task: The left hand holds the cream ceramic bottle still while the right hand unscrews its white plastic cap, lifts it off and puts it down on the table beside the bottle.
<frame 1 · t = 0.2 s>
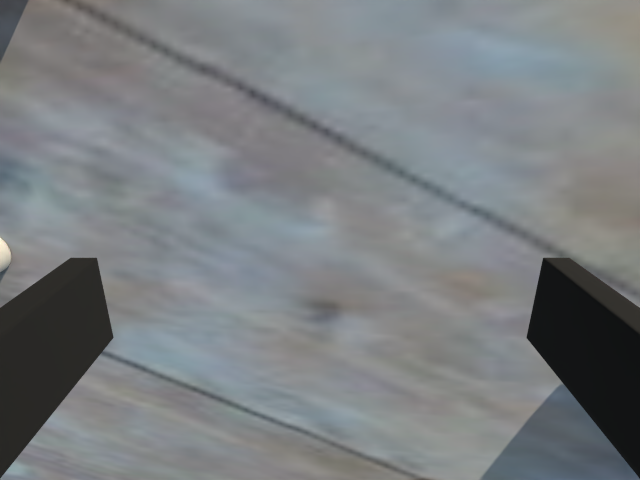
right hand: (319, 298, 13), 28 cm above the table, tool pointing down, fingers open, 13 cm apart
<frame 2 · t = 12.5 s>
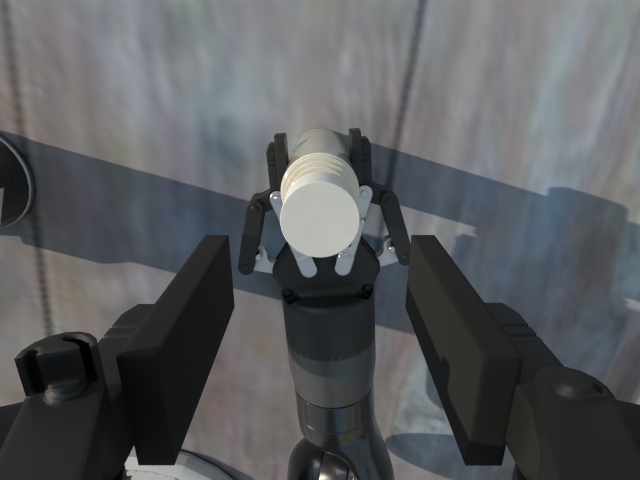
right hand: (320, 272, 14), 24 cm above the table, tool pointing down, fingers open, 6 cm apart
left hand: (317, 133, 30), fingers closed on bottle, 4 cm apart
cap: (319, 219, 20), point 18 cm above the table, screwed on, not yet turned
bottle: (319, 155, 37), on the table, touching left hand
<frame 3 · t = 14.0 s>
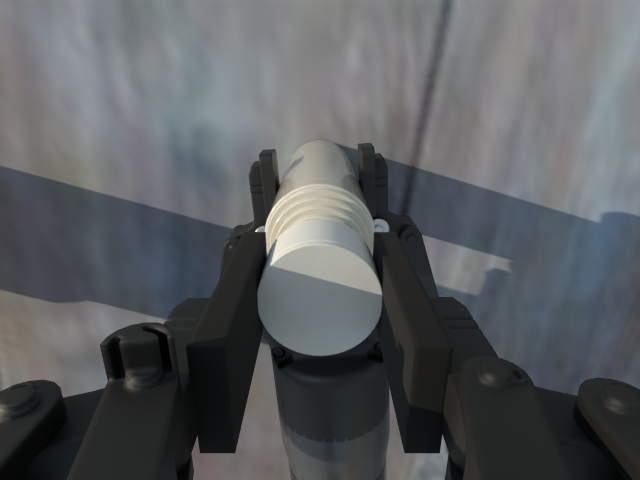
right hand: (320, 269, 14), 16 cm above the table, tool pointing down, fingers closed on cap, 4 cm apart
left hand: (316, 150, 22), fingers closed on bottle, 4 cm apart
cap: (319, 298, 13), point 18 cm above the table, screwed on, not yet turned, touching right hand
bottle: (319, 173, 30), on the table, touching left hand
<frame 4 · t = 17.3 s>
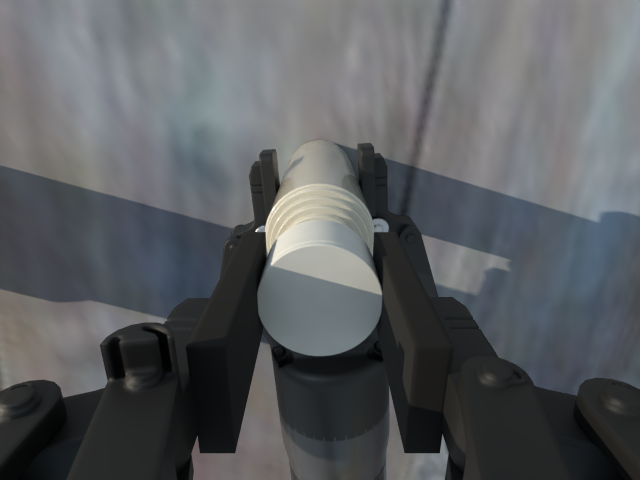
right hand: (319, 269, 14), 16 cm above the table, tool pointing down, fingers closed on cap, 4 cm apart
cap: (319, 298, 13), point 18 cm above the table, turned 100° so far, risen 0.1 cm, still on its thread, touching right hand
bottle: (319, 173, 30), on the table, touching left hand
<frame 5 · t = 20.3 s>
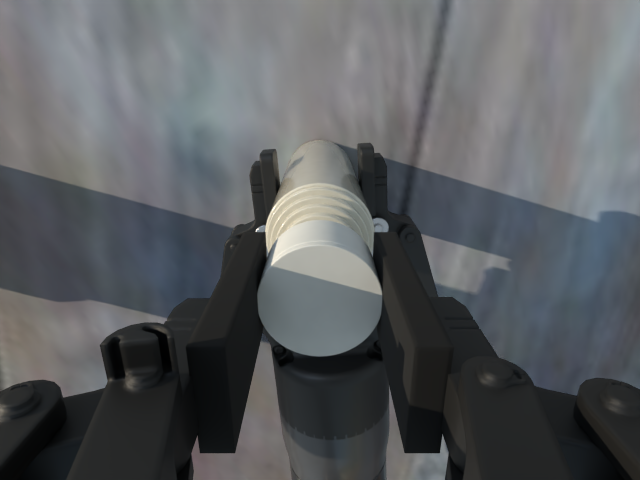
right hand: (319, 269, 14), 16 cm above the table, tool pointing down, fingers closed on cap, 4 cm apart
left hand: (316, 149, 23), fingers closed on bottle, 4 cm apart
cap: (319, 298, 13), point 18 cm above the table, turned 200° so far, risen 0.2 cm, still on its thread, touching right hand
bottle: (319, 172, 30), on the table, touching left hand
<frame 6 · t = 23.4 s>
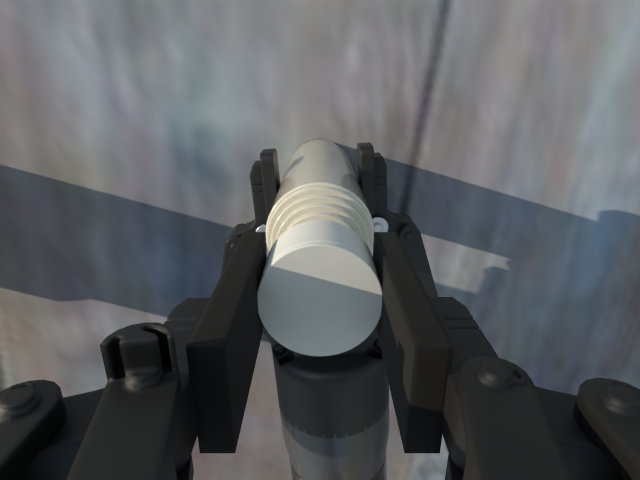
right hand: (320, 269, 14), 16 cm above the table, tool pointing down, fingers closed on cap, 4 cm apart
cap: (320, 298, 13), point 19 cm above the table, turned 300° so far, risen 0.3 cm, still on its thread, touching right hand
bottle: (319, 172, 30), on the table, touching left hand
when the right hand's fingers open (2 cm above the table, at t = 29.2 s): cap drops 2 cm, point 2 cm above the table.
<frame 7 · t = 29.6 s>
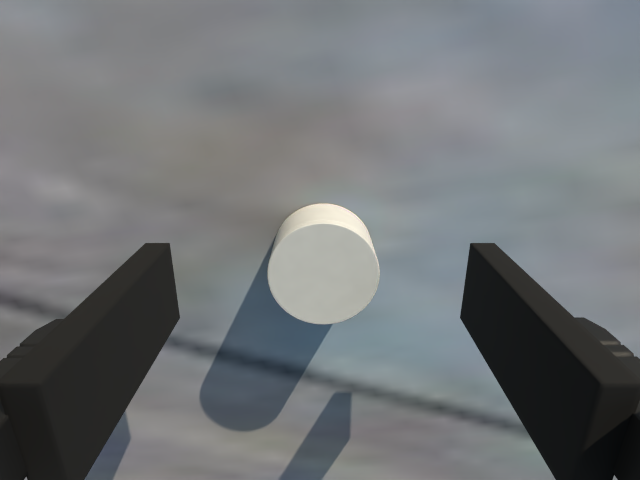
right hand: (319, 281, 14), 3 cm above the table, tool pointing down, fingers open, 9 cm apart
cap: (323, 272, 14), point 2 cm above the table, off its thread
when the left hand's fingers open (7 cm above the table, at t = 30.5 s): bottle stays where it is, on the table.
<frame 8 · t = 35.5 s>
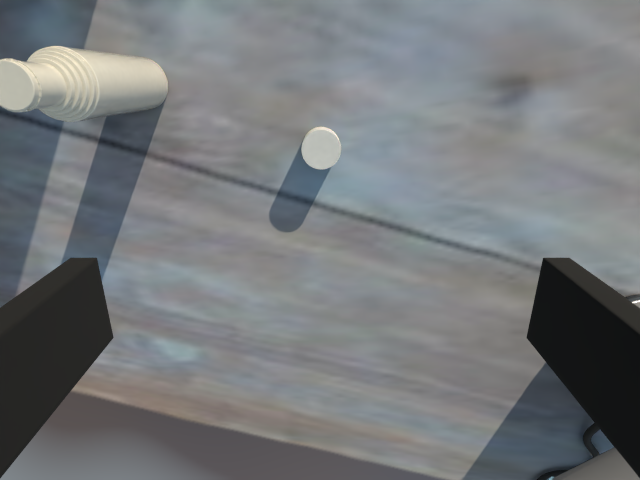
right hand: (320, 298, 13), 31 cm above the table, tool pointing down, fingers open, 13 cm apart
cap: (321, 149, 39), point 2 cm above the table, off its thread
bottle: (143, 83, 39), on the table
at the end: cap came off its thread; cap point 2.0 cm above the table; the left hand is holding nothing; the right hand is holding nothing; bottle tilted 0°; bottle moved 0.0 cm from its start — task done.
